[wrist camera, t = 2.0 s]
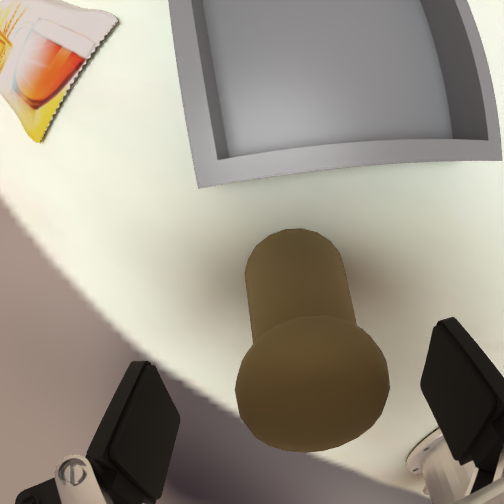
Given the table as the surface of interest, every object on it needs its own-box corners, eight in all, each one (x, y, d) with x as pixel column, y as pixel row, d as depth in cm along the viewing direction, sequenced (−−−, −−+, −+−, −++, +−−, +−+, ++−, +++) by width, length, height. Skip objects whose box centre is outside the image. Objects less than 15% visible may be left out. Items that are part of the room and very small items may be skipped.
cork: (241, 315, 19) (216, 467, 9) (248, 223, 17) (214, 344, 7) (333, 322, 19) (375, 466, 8) (351, 233, 17) (445, 350, 6)
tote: (457, 154, 14) (502, 160, 10) (216, 177, 16) (198, 188, 12) (404, -42, 10) (428, -72, 5) (182, -35, 11) (161, -71, 7)
